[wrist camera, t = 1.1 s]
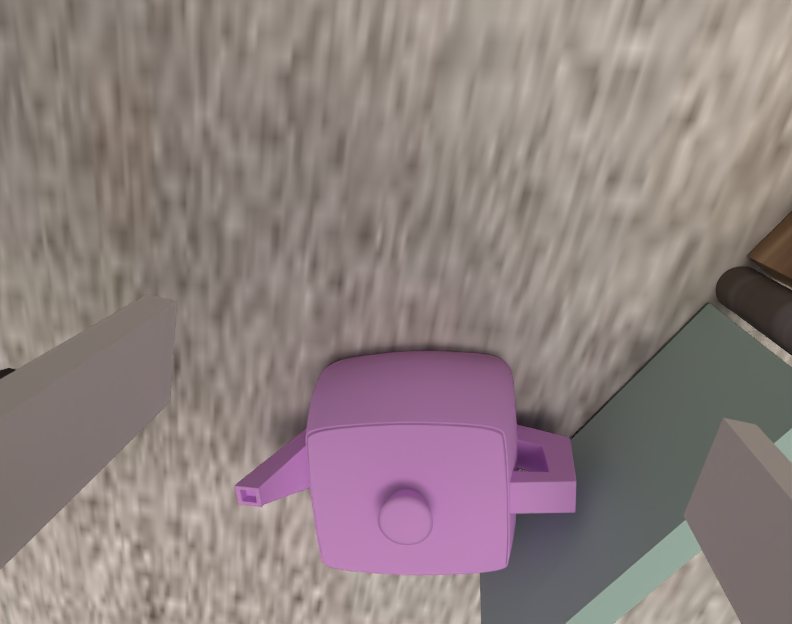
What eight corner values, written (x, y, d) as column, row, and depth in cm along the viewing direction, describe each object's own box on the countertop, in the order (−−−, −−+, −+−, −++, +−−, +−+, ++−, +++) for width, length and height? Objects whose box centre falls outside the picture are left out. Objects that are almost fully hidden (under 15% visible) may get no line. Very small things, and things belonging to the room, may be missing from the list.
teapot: (287, 494, 42) (232, 609, 32) (265, 348, 39) (197, 427, 29) (560, 494, 39) (590, 618, 30) (561, 339, 36) (595, 421, 27)
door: (709, 302, 34) (828, 396, 23) (750, 336, 35) (888, 444, 23) (478, 531, 40) (483, 694, 29) (515, 557, 41) (534, 729, 29)
